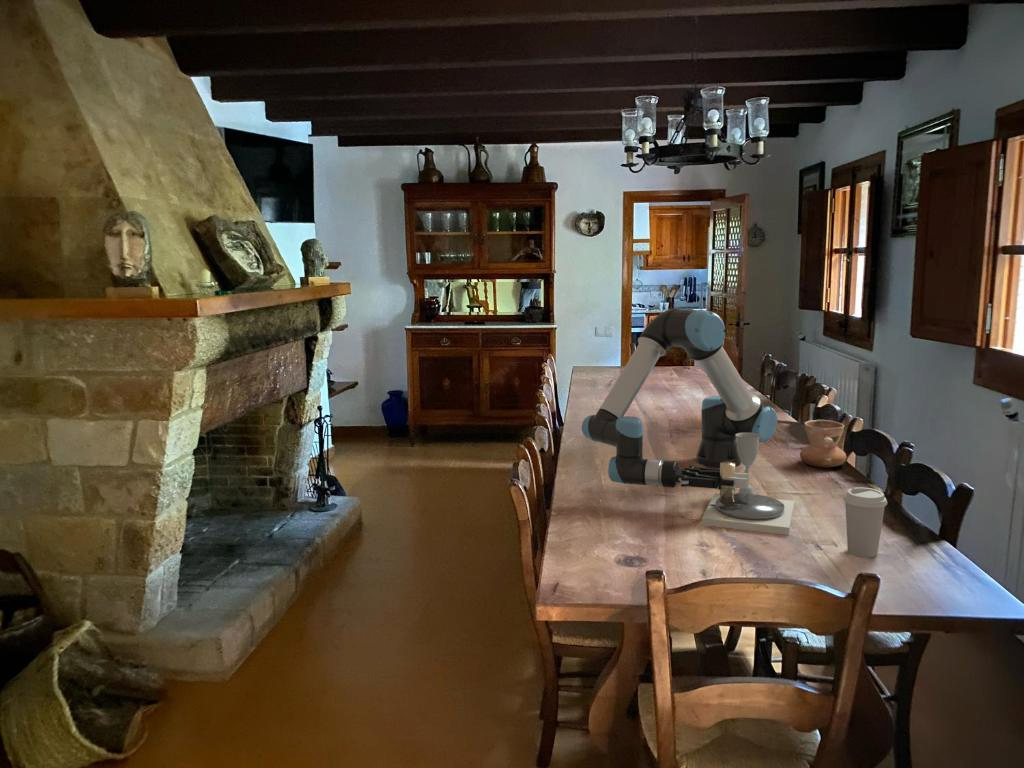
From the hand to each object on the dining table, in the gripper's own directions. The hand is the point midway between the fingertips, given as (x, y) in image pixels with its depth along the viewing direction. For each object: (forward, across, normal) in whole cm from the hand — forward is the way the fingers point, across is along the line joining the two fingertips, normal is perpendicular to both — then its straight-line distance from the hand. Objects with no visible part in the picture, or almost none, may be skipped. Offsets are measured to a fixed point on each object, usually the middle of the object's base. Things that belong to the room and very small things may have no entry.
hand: (747, 481), depth 206 cm
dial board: (+1, 0, -10) cm, 10 cm away
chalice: (-2, -20, -10) cm, 23 cm away
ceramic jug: (+18, -59, -10) cm, 63 cm away
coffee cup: (+29, +17, -10) cm, 35 cm away
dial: (+1, 0, -8) cm, 8 cm away
